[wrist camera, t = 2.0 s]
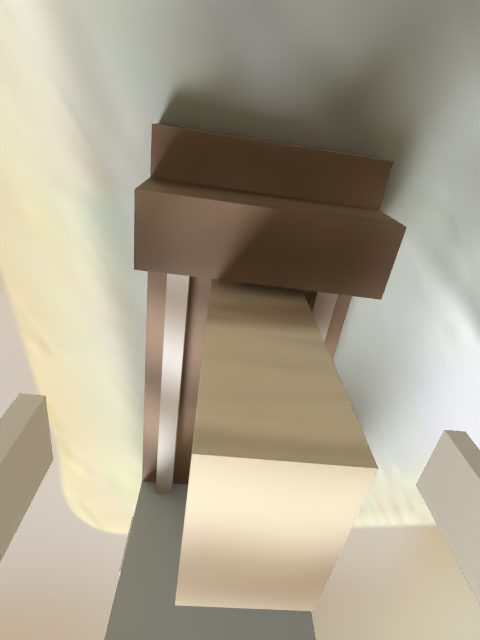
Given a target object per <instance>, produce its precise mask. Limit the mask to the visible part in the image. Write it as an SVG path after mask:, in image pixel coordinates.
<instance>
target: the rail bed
mask: <svg viewBox="0 0 480 640" xmlns="http://www.w3.org/2000/svg"><path fill="white" fill-rule="evenodd" d="M392 164H393V161H389V160H385V159H381V158H376V157H369V156H363V155H357V154H350V153H344V152H337V151H331V150H325V149H318V148H312V147H305V146H299V145H293V144H286V143H280V142H273V141H267V140H261V139H254V138H248V137H241V136H235V135H229V134H222V133H216V132H210V131H203V130H197V129H190V128H184V127H178V126H171V125H165V124H152V142H151V177H150V178H149V179H147V180H146V181H145V182H143V183H142V184H141V185H139V186H138V187H137V188H136V189H135V216H134V270H143V271H148V289H147V325H146V362H145V399H144V435H143V472H142V481H144V482H156V493H160V494H171V493H172V486H173V484H186V485H188V482H189V473H190V464H191V455H192V446H193V437H194V428H195V419H196V410H197V401H198V392H199V383H200V374H201V365H202V356H203V348H204V339H205V330H206V321H207V312H208V303H209V294H210V285H211V279H217V280H225V281H233V282H242V283H250V284H258V285H266V286H275V287H283V288H291V289H299V290H302V291H303V293H304V295H305V298H306V300H307V302H308V305H309V307H310V309H311V312H312V314H313V316H314V319H315V321H316V323H317V326H318V328H319V330H320V333H321V335H322V338H323V340H324V342H325V345H326V347H327V349H328V352H329V354H330V356H331V359H332V358H333V355H334V352H335V349H336V345H337V342H338V339H339V336H340V332H341V329H342V326H343V323H344V319H345V316H346V313H347V310H348V307H349V303H350V300H351V297H352V296H357V297H365V298H373V299H382V296H383V293H384V290H385V287H386V284H387V281H388V279H389V276H390V273H391V270H392V267H393V264H394V262H395V259H396V256H397V253H398V250H399V247H400V244H401V242H402V239H403V236H404V233H405V230H406V227H405V226H404V225H402V224H401V223H399V222H397V221H396V220H394V219H392V218H391V217H389V216H388V215H386V214H384V213H383V212H381V211H379V210H378V209H379V206H380V203H381V200H382V197H383V193H384V190H385V187H386V184H387V180H388V177H389V174H390V171H391V167H392Z"/></svg>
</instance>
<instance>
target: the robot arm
mask: <svg viewBox="0 0 480 640" xmlns="http://www.w3.org/2000/svg"><path fill="white" fill-rule="evenodd" d="M52 461H53V454H52V446H51V438H50V430H49V421H48V413H47V405H46V397H45V396H41V395H29V394H19V395H18V396H17V398H16V399H15V400H14V401H13V403H12V404H11V405H10V407H9V408H8V409H7V411H6V412H5V413H4V415H3V416H2V417H1V418H0V562H1V560H2V558H3V555H4V554H5V552H6V550H7V548H8V546H9V544H10V542H11V540H12V538H13V536H14V534H15V533H16V531H17V529H18V527H19V525H20V523H21V521H22V519H23V517H24V515H25V513H26V511H27V509H28V507H29V505H30V503H31V501H32V499H33V498H34V496H35V494H36V492H37V490H38V488H39V486H40V484H41V482H42V480H43V478H44V476H45V474H46V472H47V470H48V468H49V466H50V465H51V463H52ZM416 486H417V488H418V490H419V492H420V493H421V495H422V497H423V499H424V501H425V503H426V505H427V507H428V509H429V510H430V512H431V514H432V516H433V518H434V520H435V522H436V524H437V526H438V528H439V529H440V531H441V533H442V535H443V537H444V539H445V541H446V543H447V544H448V546H449V548H450V550H451V552H452V554H453V556H454V558H455V559H456V561H457V563H458V565H459V567H460V569H461V571H462V573H463V575H464V577H465V579H466V580H467V582H468V584H469V586H470V588H471V590H472V592H473V594H474V596H475V597H476V599H477V601H478V603H479V605H480V450H479V449H478V447H477V446H476V445H475V444H474V442H473V441H472V440H471V438H470V437H469V436H468V435H467V433H466V432H462V431H450V430H444V432H443V434H442V436H441V438H440V439H439V441H438V443H437V445H436V447H435V449H434V451H433V453H432V455H431V457H430V459H429V461H428V463H427V465H426V467H425V468H424V470H423V472H422V474H421V476H420V478H419V480H418V482H417V484H416Z"/></svg>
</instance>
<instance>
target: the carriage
mask: <svg viewBox="0 0 480 640" xmlns="http://www.w3.org/2000/svg"><path fill="white" fill-rule="evenodd" d="M377 471H378V467H377V464H376V462H375V460H374V457H373V455H372V453H371V450H370V448H369V445H368V443H367V441H366V438H365V436H364V434H363V431H362V429H361V427H360V424H359V422H358V420H357V417H356V415H355V413H354V410H353V408H352V406H351V403H350V401H349V399H348V396H347V394H346V392H345V389H344V387H343V384H342V382H341V380H340V377H339V375H338V373H337V370H336V368H335V366H334V363H333V361H332V359H331V356H330V354H329V352H328V349H327V347H326V345H325V342H324V340H323V338H322V335H321V333H320V330H319V328H318V326H317V323H316V321H315V319H314V316H313V314H312V312H311V309H310V307H309V305H308V302H307V300H306V298H305V295H304V293H303V291H302V290H299V289H291V288H283V287H275V286H266V285H258V284H250V283H242V282H233V281H225V280H217V279H211V285H210V294H209V303H208V312H207V321H206V330H205V339H204V348H203V356H202V365H201V374H200V383H199V392H198V401H197V410H196V419H195V428H194V437H193V446H192V455H191V464H190V473H189V482H188V491H187V500H186V509H185V518H184V527H183V536H182V545H181V554H180V563H179V572H178V581H177V590H176V599H175V605H179V606H202V607H225V608H248V609H271V610H295V611H314V609H315V607H316V605H317V603H318V600H319V598H320V596H321V594H322V592H323V589H324V587H325V585H326V583H327V581H328V579H329V576H330V574H331V572H332V570H333V568H334V565H335V563H336V561H337V559H338V557H339V554H340V552H341V550H342V548H343V545H344V543H345V541H346V539H347V537H348V534H349V532H350V530H351V528H352V526H353V524H354V521H355V519H356V517H357V515H358V513H359V510H360V508H361V506H362V504H363V502H364V499H365V497H366V495H367V493H368V491H369V488H370V486H371V484H372V482H373V480H374V477H375V475H376V473H377Z"/></svg>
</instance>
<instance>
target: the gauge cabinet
mask: <svg viewBox="0 0 480 640" xmlns="http://www.w3.org/2000/svg"><path fill="white" fill-rule="evenodd" d="M187 491H188V485H186V484H173V486H172V493H171V494H160V493H156V482H144V481H142V484H141V489H140V493H139V497H138V501H137V505H136V510H135V514H134V517H132V521H131V525H130V529H129V533H128V538H127V542H126V546H125V550H124V554H123V558H122V563H121V567H120V571H119V581H118V585H117V589H116V594H115V598H114V602H113V606H112V610H111V615H110V619H109V623H108V627H107V631H106V636H105V639H104V640H316V639H315V633H314V627H313V621H312V615H311V611H295V610H271V609H248V608H225V607H202V606H179V605H175V599H176V590H177V581H178V572H179V563H180V554H181V545H182V536H183V527H184V518H185V509H186V500H187Z"/></svg>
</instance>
